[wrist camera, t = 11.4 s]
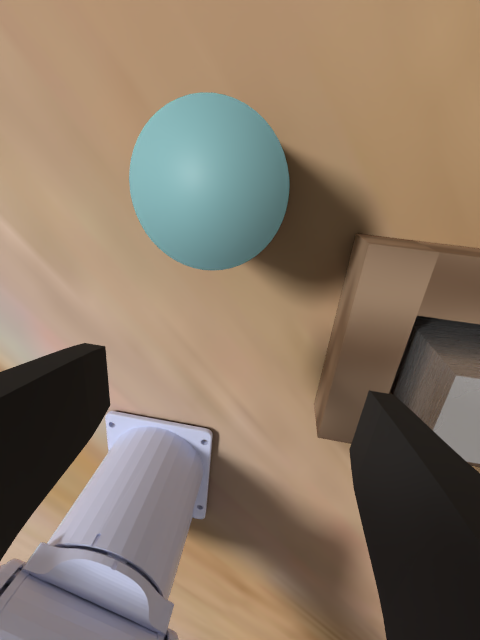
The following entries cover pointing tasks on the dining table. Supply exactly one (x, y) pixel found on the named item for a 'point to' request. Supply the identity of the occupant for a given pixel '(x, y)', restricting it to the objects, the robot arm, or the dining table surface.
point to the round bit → (209, 181)
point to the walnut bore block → (388, 319)
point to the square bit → (444, 381)
